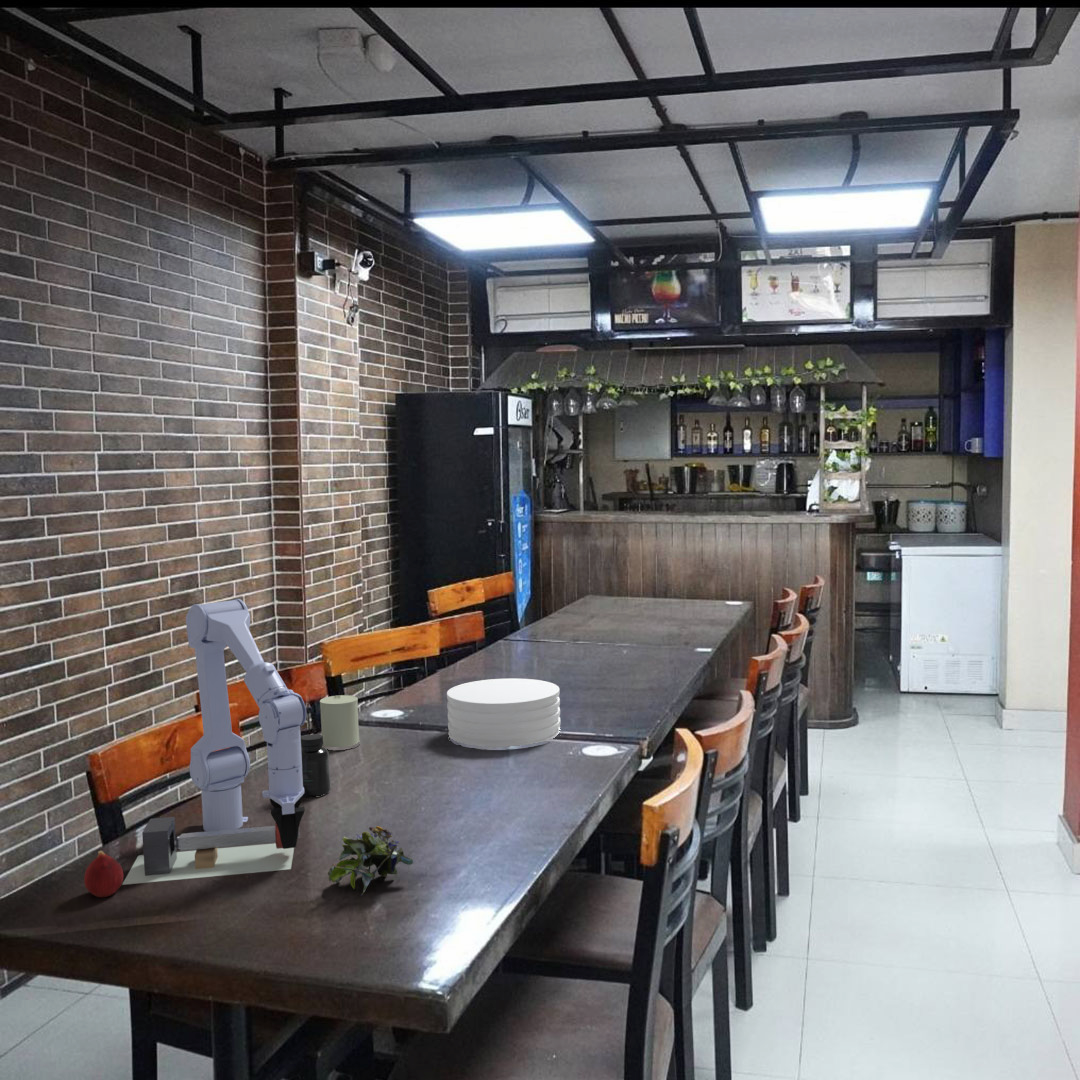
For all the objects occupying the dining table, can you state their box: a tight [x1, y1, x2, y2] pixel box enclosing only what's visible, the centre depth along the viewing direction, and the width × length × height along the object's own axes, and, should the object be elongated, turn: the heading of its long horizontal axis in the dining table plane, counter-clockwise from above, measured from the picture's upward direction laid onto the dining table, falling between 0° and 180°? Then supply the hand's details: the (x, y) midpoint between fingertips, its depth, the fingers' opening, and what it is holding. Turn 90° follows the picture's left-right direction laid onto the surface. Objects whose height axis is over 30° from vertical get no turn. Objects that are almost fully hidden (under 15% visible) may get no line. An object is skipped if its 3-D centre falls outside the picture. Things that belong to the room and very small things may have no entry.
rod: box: [174, 822, 300, 852], centre depth 182 cm, size 5×21×5 cm, turn 100°
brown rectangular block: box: [195, 847, 218, 869], centre depth 181 cm, size 5×3×2 cm, turn 10°
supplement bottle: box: [301, 733, 331, 798], centre depth 220 cm, size 7×7×12 cm
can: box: [319, 694, 360, 747], centre depth 257 cm, size 9×9×12 cm
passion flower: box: [327, 826, 414, 897], centre depth 171 cm, size 11×11×12 cm
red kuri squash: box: [83, 850, 124, 898], centre depth 169 cm, size 6×6×8 cm
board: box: [121, 842, 295, 886], centre depth 181 cm, size 13×27×1 cm, turn 100°
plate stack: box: [446, 677, 562, 747], centre depth 262 cm, size 28×28×12 cm
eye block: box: [142, 816, 178, 876], centre depth 180 cm, size 7×4×7 cm, turn 10°
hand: (288, 841), depth 183 cm, fingers closed on rod, 5 cm apart
